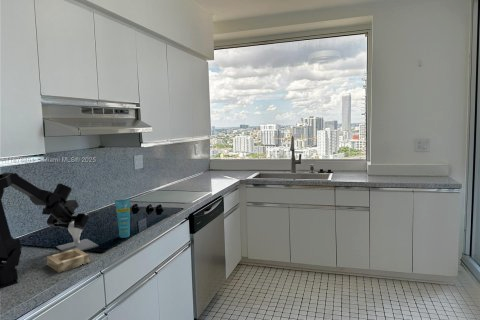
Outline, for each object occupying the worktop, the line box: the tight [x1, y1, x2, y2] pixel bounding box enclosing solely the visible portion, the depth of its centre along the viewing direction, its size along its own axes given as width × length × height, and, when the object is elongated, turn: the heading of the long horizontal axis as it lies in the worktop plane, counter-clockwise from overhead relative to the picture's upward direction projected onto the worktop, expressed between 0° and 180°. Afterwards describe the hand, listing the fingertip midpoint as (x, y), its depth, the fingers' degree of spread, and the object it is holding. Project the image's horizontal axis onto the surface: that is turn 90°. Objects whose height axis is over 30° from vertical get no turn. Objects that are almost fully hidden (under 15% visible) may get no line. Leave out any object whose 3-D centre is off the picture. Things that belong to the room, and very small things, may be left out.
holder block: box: [46, 248, 90, 274], centre depth 141 cm, size 12×12×4 cm
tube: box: [114, 198, 131, 239], centre depth 174 cm, size 7×5×19 cm, turn 119°
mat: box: [55, 238, 99, 252], centre depth 161 cm, size 14×14×1 cm
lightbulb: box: [67, 221, 83, 244], centre depth 160 cm, size 6×6×11 cm
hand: (77, 228), depth 161 cm, fingers closed on lightbulb, 6 cm apart
